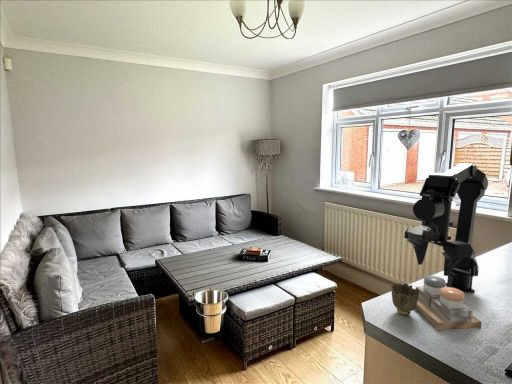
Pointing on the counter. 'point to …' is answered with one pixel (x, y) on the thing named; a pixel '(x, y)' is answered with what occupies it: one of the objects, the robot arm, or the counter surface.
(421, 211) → the robot arm
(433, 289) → the plunger grey
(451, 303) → the plunger terracotta
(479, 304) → the counter surface
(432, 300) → the button board
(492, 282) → the counter surface
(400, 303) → the cup
